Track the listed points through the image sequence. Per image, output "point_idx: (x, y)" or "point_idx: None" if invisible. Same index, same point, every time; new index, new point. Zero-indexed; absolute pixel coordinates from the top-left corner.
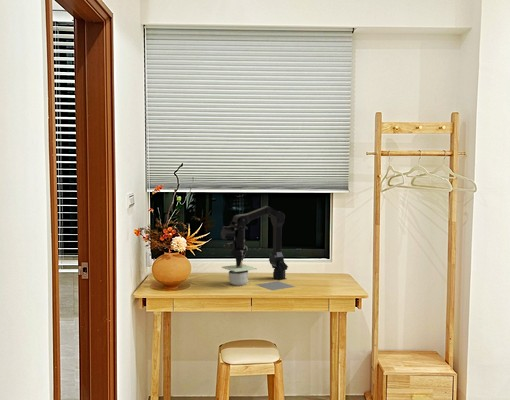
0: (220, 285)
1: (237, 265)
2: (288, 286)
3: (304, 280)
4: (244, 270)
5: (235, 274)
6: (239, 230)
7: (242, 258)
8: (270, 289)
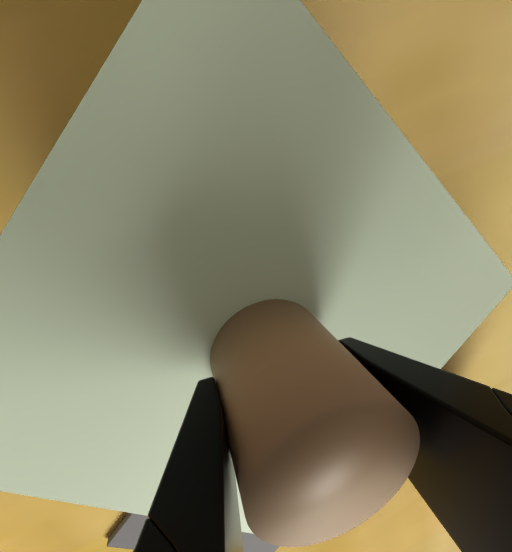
0: (80, 75)
1: (192, 397)
2: (253, 543)
3: (416, 504)
4: (106, 496)
5: None
6: None
7: (454, 525)
8: (124, 527)
